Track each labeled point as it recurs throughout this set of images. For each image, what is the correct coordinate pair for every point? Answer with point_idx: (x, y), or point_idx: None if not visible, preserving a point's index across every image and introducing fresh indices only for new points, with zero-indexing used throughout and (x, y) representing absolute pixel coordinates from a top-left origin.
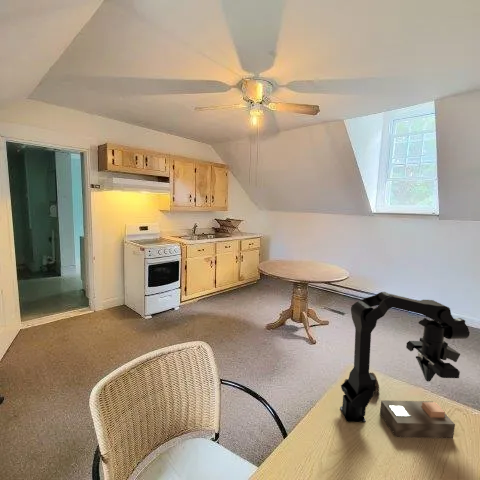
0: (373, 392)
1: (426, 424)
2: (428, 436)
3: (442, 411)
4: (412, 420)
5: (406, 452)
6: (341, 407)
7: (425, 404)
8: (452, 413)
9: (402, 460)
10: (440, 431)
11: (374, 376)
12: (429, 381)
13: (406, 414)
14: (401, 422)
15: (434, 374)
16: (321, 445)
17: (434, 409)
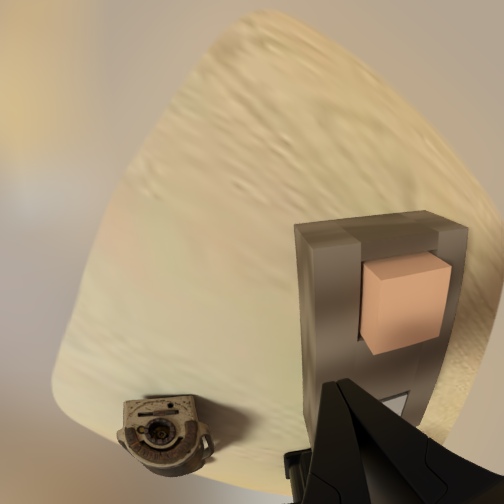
0: None
1: (444, 347)
2: None
3: (445, 278)
4: (424, 390)
5: (440, 374)
6: (287, 476)
7: (393, 347)
8: (267, 99)
9: (451, 384)
10: None
11: (172, 467)
12: (348, 381)
13: (398, 404)
14: (421, 417)
15: (430, 441)
16: None
17: (429, 314)
